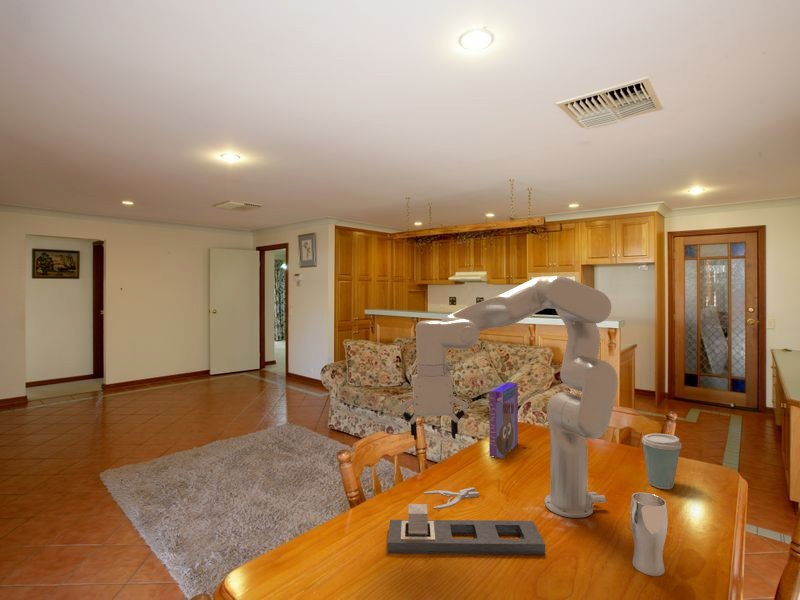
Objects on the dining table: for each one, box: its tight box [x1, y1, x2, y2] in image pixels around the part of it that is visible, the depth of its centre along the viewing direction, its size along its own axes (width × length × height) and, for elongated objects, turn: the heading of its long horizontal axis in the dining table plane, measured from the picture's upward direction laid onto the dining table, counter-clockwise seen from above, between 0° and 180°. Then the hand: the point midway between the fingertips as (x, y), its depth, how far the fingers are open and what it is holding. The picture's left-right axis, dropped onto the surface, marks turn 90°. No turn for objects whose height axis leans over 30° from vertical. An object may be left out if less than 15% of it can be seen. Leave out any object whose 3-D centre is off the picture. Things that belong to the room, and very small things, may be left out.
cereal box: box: [488, 381, 519, 459], centre depth 163 cm, size 17×5×24 cm, turn 147°
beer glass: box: [629, 491, 668, 577], centre depth 94 cm, size 7×7×15 cm
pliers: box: [423, 487, 480, 510], centre depth 127 cm, size 10×2×15 cm
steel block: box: [407, 503, 429, 537], centre depth 105 cm, size 4×4×8 cm
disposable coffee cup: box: [641, 433, 682, 490], centre depth 134 cm, size 11×11×15 cm
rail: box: [387, 519, 546, 556], centre depth 105 cm, size 36×10×3 cm, turn 88°
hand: (434, 437), depth 109 cm, fingers open, 9 cm apart
